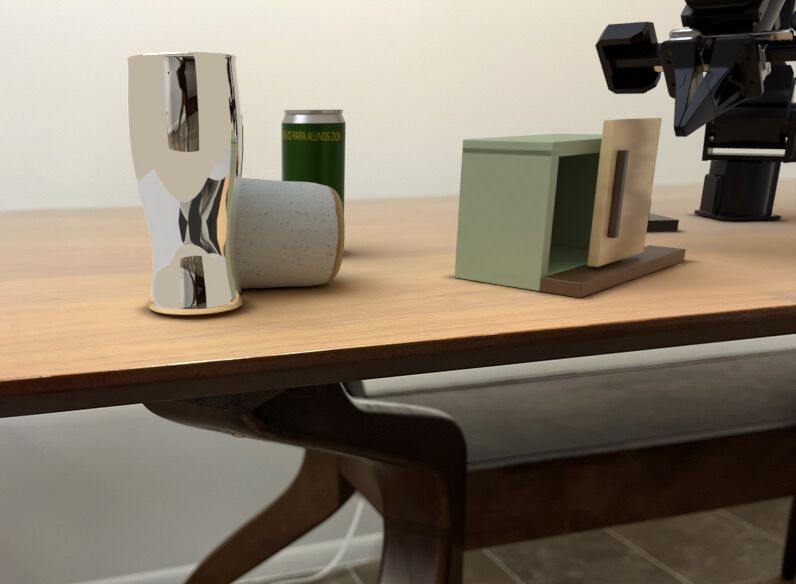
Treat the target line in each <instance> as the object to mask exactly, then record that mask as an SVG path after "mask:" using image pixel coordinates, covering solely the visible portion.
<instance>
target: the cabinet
mask: <svg viewBox="0 0 796 584" xmlns="http://www.w3.org/2000/svg"><path fill="white" fill-rule="evenodd" d="M601 141H602V134H598V133H597V134H594V133H593V134H589V133H588V134H587V133H547V134H546V133H545V134H530V135H528V134H527V135H513V136H496V137H481V138H479V137H478V138H464V139H462V149H461V150H462V151H461V164H460V165H461V166H460V181H459V182H460V183H459V198H458V200H459V201H458V216H457V231H456V247H455V263H454V265H455V266H454V278H455V279H462V280H468V281H474V282H480V283H486V284H493V285H500V286H505V287H511V288H517V289H524V290H529V291H536V292H542V293H548V294H554V295H561V296H566V297H572V298H579V299H581V298H584V297H586V296H588V295H592V294H595V293H597V292H600V291H602V290H603V291H604V290H606V289H608V288H612V287H614V286H617V285H620V284H623V283H626V282H628V281H629V282H630V281H631V280H635V279H637V278H641V277H642V276H645V275H649V274H651V273H654V272H656V271H660V270H662V269H663V270H664V268H668V267H671V266H674V265H677V264H680V263H683V262H685V258H686V251H687V250H686V249H685V248H679V247H678V248H677V247H671V246H670V247H669V246H660V245H646V246H644V253H641V254H638V255H635V256H631V257H628V258H625V259H622V260H619V261H615V262H612V263H609V264H606V265H602V266H599V267H593V266H587V264H588V255H589V246H590V238H591V229H592V220H593V211H594V202H595V194H596V185H597V176H598V167H599V159H600V150H601Z"/></svg>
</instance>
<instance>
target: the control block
mask: <svg viewBox="0 0 796 584" xmlns="http://www.w3.org/2000/svg"><path fill="white" fill-rule="evenodd" d="M651 206H652V201H651V202H650V209H649V216H648V224H647V231H646V233H678V229H679V223H680V220H679V219H676V218H673V217H668V216H664V215H660V214H655V213H652V212H651Z"/></svg>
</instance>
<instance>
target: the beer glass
mask: <svg viewBox="0 0 796 584" xmlns="http://www.w3.org/2000/svg"><path fill="white" fill-rule="evenodd" d="M126 66H127V69H126V70H127V74H126V75H127V76H126V77H127V78H126V79H127V83H126V84H127V86H126V88H127V89H126V94H127V95H126V96H127V97H126V99H127V100H126V102H127V103H126V105H127V106H126V107H127V110H126V111H127V130H128V131H127V132H128V142H129V149H130V157H131V162H132V167H133V173H134V178H135V182H136V183H135V184H136V186H137V187H136V188H137V191H138V195H139V199H140V203H141V207H142V211H143V214H144V219H145V224H146V228H147V233H148V236H149V244H150V252H151V254H150V255H151V257H150V258H151V271H150V272H151V273H150V281H149V282H150V283H149V291H148V292H149V293H148V308H149V309H150V310H151V311H153V312H155V313H160V314H166V315H175V316H177V315H178V316H193V315H195V316H197V315H209V314H210V315H211V314H217V313H225V312H227V311H233V310H236V309H237V308H240V307H242V305H243V304H244V296H243V290H242V289H241V286H240V282H239V277H238V273H237V267H236V261H235V249H234V248H235V226H236V217H237V209H238V201H239V194H240V185H241V178H243V176H242V175H243V163H244V153H245V152H244V149H245V147H244V142H245V141H244V116H243V104H242V95H241V85H240V78H239V70H238V56H236V55H235V54H230V53H223V52H204V51H174V52H172V51H171V52H169V51H168V52H153V53H152V52H151V53H143V54H136V55H131V56H128V57H127V58H126Z"/></svg>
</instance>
